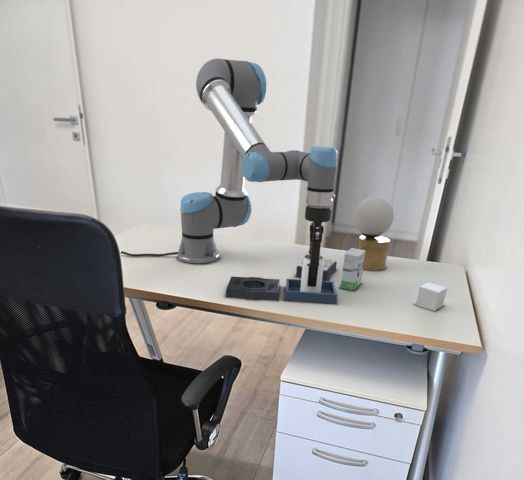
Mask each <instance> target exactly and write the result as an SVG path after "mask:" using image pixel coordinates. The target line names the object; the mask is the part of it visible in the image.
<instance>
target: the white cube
mask: <svg viewBox="0 0 524 480" xmlns="http://www.w3.org/2000/svg"><path fill="white" fill-rule="evenodd" d="M447 291H448V287H447V286H443V285H440V284H436V283H432V282H427V283H425V284H423V285H421V286H419V289H418V294H417V298H416V302H415V306H417V307H421V308H424V309H426V310H430V311H433V312H434V311H437V310H438V309H440V308H441V307H443V306H444V302H445V299H446V294H447Z"/></svg>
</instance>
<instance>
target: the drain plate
mask: <svg viewBox="0 0 524 480" xmlns="http://www.w3.org/2000/svg"><path fill="white" fill-rule="evenodd" d="M280 283H281V282H280V278H266V277H265V278H264V277H257V276H247V277H245V276H233V275H232V276H230V278H229V281H228V283H227V286H226V288H225V297H226V298H235V299H244V300H253V301H254V300H255V301H258V300H264V301H265V300H266V301H267V300H268V301H278V300H279V294H280V293H279V292H280Z"/></svg>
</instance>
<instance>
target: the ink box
mask: <svg viewBox="0 0 524 480" xmlns="http://www.w3.org/2000/svg"><path fill="white" fill-rule="evenodd" d="M364 257H365V250H360V249H358V248H355V247H351V248H349V250H348V251H346V252H345V253H344V258H343V265H342V273H341V279H340V280H341V281H340V287H339V288H340V289H345V290H350V291H355V290H356V289H357V288H358V287H359V286H360V285H361V282H362V275H363V270H364V269H363V263H364Z"/></svg>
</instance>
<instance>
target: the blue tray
mask: <svg viewBox="0 0 524 480" xmlns="http://www.w3.org/2000/svg"><path fill="white" fill-rule="evenodd" d="M300 288H301V278H300V279H299V278H298V279H297V278H286V281H285V294H284V301H285V302H298V303H299V302H300V303H315V304H332V305H336V304H337V297H338V292H337V288H336V284H335V281H331V280H330V281H329V280H327V281H322V285H321V293H314V292H300Z"/></svg>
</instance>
